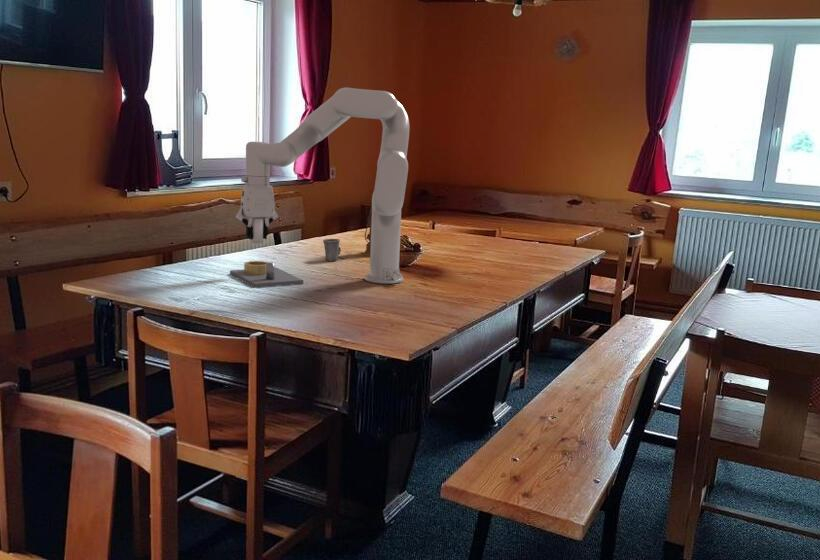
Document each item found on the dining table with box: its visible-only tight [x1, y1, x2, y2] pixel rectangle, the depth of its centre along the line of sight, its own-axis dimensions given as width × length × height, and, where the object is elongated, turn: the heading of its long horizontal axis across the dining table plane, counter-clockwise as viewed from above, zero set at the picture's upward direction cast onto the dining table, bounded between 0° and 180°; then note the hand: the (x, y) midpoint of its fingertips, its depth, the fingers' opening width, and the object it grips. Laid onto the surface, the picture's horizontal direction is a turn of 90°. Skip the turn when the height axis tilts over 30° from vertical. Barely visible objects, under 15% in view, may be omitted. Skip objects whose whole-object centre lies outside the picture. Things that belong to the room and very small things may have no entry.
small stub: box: [266, 261, 276, 280], centre depth 232 cm, size 3×3×5 cm
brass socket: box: [243, 260, 269, 275], centre depth 241 cm, size 8×8×3 cm
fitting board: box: [229, 266, 304, 288], centre depth 238 cm, size 22×16×1 cm
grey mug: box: [322, 238, 342, 262], centre depth 277 cm, size 6×13×8 cm, turn 173°
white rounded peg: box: [250, 218, 264, 244], centre depth 239 cm, size 4×4×8 cm
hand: (256, 238), depth 239 cm, fingers closed on white rounded peg, 4 cm apart
